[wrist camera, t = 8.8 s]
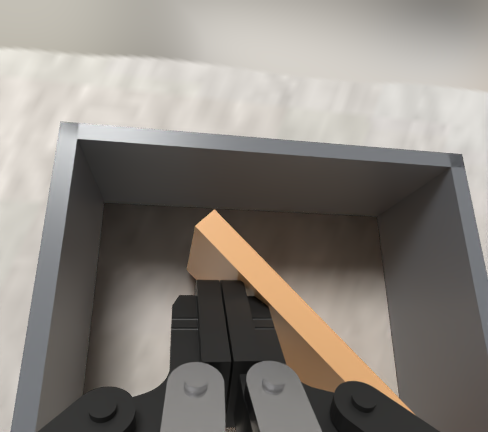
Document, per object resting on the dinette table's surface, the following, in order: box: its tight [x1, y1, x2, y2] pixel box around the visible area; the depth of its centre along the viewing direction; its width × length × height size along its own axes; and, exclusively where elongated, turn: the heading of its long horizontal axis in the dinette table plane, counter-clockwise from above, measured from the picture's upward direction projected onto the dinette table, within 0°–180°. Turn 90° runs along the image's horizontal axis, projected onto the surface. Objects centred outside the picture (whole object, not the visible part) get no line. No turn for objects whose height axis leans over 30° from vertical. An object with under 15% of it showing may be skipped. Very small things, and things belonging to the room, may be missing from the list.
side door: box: [187, 209, 414, 414], centre depth 15 cm, size 1×12×7 cm, turn 45°
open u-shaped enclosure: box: [11, 122, 488, 432], centre depth 15 cm, size 13×15×6 cm
